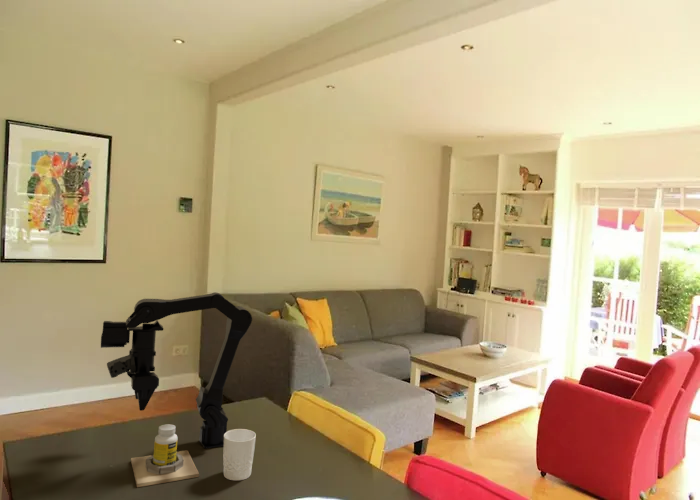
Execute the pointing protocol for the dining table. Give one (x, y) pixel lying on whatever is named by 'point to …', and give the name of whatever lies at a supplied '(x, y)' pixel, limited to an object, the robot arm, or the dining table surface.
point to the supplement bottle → (165, 446)
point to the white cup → (238, 453)
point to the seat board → (163, 469)
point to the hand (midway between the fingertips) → (139, 404)
